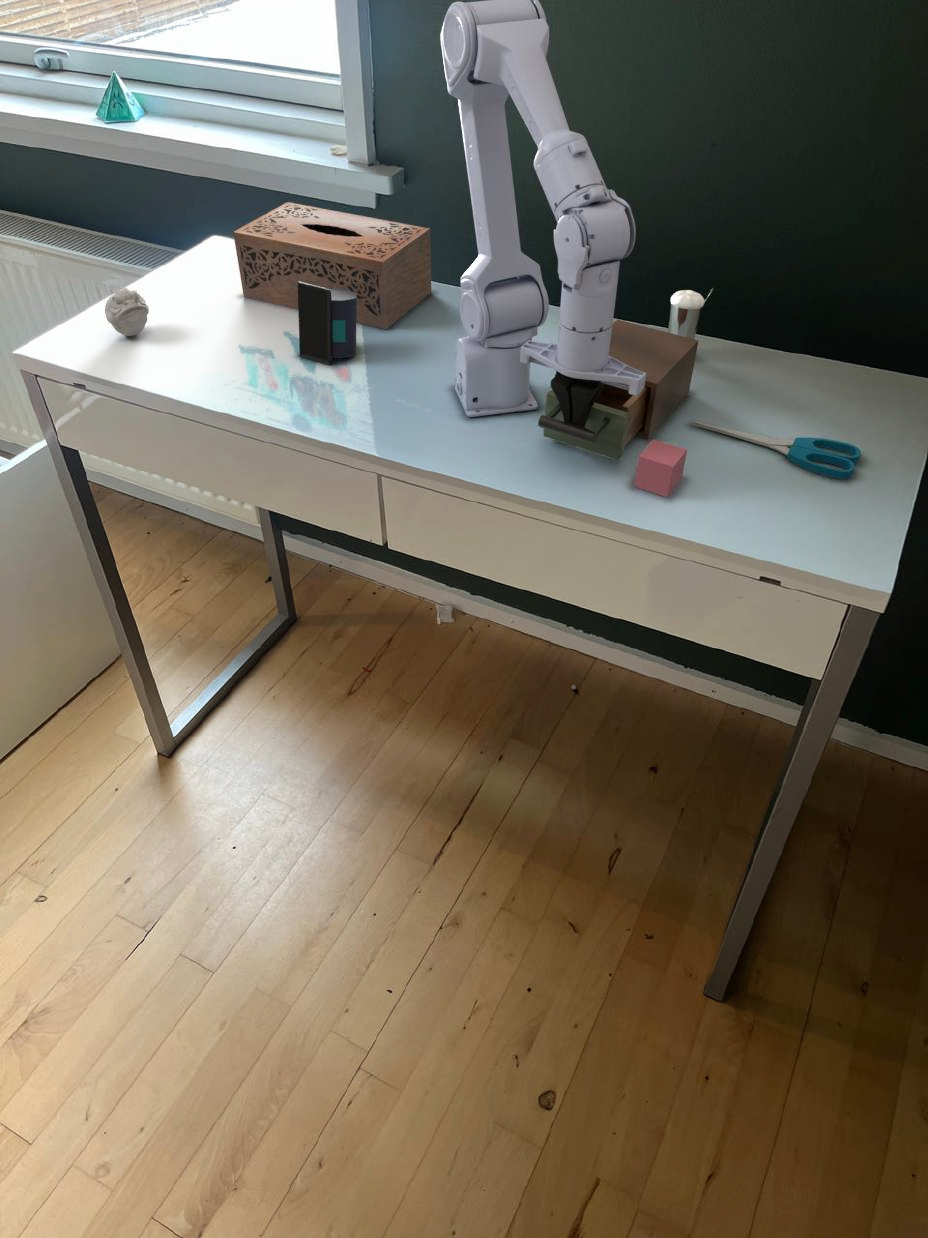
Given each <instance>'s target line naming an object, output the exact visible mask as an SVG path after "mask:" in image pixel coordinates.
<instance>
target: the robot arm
mask: <svg viewBox="0 0 928 1238" xmlns="http://www.w3.org/2000/svg"><path fill="white" fill-rule="evenodd" d="M542 6H543V5H542V4H541V3H540V1H539V0H480V1H479V0H478V1H470V2H463V1H454V2H453V3H451V4H450V6H449V7H448V9H447V11H446V14H445V16H444V20H443V22H442V23H443V24H442V27H441V30H440V46H441V53H442V54H441V55H442V61H443V68H444V75H445V80H446V86H447V93H448V94H449V96H452V97H453V98H455V99H457V101H458V102H457V103H458V109H459V110H458V111H459V117H460V126H461V132H462V140H463V149H464V155H465V162H466V171H467V179H468V186H469V192H470V200H471V208H472V216H473V217H472V218H473V224H474V231H475V239H476V246H477V253H478V256H477V258H475V260H474V261H473V263H472V264H470V266H469V267H468V268H467V269H466V270H465V271H464V272H463V274H462V276H461V277H460V279H459V280H460V281H459V282H460V285H459V286H460V303H459V314H460V320H461V323H462V325H463V329H464V330H465V332H466V333H467V335H466V336H463V337H459V338H457V340H456V344H455V385H454V390H455V393H456V395H457V397H458V399H459V402H460V404H461V406H462V408H463V409H464V412H465V414H466V416H467V417H469V418H473V417H481V416H483V417H484V416H489V415H499V414H508V413H515V412H524V411H532V410H537V409H538V408H539V404H538V402H537V400H536V399H535V396H534V395H533V393H532V392H531V390H530V380H531V379H530V378H531V363H532V364H535V365H539V366H542V367H547V368H550V369H552V370H554V371H555V374H554V377H553V378H552V379H551V380H550V390H553V392H554V393H555V395H556V397H557V399H558V402H559V404H560V407H561V410H562V414H563V418H564V422H568V423H571V424H574V425H577V426H580V427H584V428H585V425H586V422H587V419H588V416H589V414H590V411H591V409H592V407H593V405H594V403H595V401H596V399H597V398H598V396H599V394H600V393H601V391H602V389H603V388H604V386H605V385H606V384H608V385H611V386H615V387H618V388H622V389H625V390H629V392H628V393H629V394H631V395H635V396H637V395H638V394H639V393H640V392H641V391H642V390H643V389H644V385H645V379H646V373H645V372H642V371H639V370H636V369H634V368H632V367H630V366H628V365H626V364H624V363H622V362H620V361H619V360H617V359H615V358H613V357H611V356H609V350H610V342H611V333H612V325H613V323H614V317H615V316H614V315H615V307H616V299H617V289H618V282H619V276H620V275H619V274H620V266H621V261H620V260H623V259H626V258H627V257H629V256H630V254H631V253H632V251H633V249H634V248H635V247H634V246H635V244H636V237H637V236H636V235H637V234H636V232H637V231H636V230H637V229H636V223H635V218H634V215H633V212H632V207H631V206H630V205H629V203H628V202H627V201H626V200H625V199H623V198H621V197H619V196H618V195H617V193H616V192H615V190H613V189H609V188H607V185H606V183H605V181H604V179H603V176H602V174H601V171H600V169H599V167H598V164H597V162H596V159H595V157H594V155H593V152H592V151H591V148H590V146H589V143H588V141H587V138H586V137H585V135H583V134H581V133H579V132H575V131H572V130H570V128H569V123H568V122H567V118H566V115H565V113H564V110H563V106H562V103H561V99H560V97H559V94H558V91H557V88H556V84H555V81H554V79H553V76H552V73H551V70H550V66H549V63H548V61H547V56H548V51H549V45H550V44H549V43H550V27H549V24H548V23H547V22H548V21H547V17H546V14H545V10H544V9H543V7H542ZM509 96H510V97H511V99H512V101H513V104H514V105H515V107H516V109H517V111H518V113H519V114H520V117H521V119H522V120H523V122H524V124H525V127H526V128H527V130H528V132H529V133H530V135H531V137H532V140H533V142H534V143H535V145H536V147H537V152H536V154H535V157H534V159H533V168H534V171H535V173H536V175H537V178H538V180H539V182H540V185H541V187H542V190H543V193H544V194H545V197H546V200H547V202H548V204H549V206H550V209H551V211H552V213H553V216H554V218H555V221H556V228H555V229H553V243H554V249H555V253H556V256H557V274H558V279H559V280H560V281H561V293H560V305H559V319H558V320H559V321H558V331H557V343H547V342H540V341H539V342H538V341H534V340H533V338H534V337H536V336H538V330H539V329H538V328H539V327H541V326H543V325H544V324H545V322H546V321H547V317H548V314H549V309H550V302H549V301H550V300H549V296H548V295H549V294H548V292H547V289H546V287H545V284H544V281H543V277H542V271H541V265H540V264H539V263H538V262H536V261H535V260H533V259H532V258H530V257H529V256H528V255H526V254H524V253H523V251H522V249H521V248H522V247H521V240H520V231H519V223H518V213H517V206H516V196H515V186H514V177H513V171H512V170H513V169H512V161H511V151H510V143H509V132H508V125H507V117H506V115H507V114H506V107H505V104H506V101H507V100H508V97H509ZM511 278H513V279H511ZM509 279H510V280H509ZM502 280H505V281H502ZM499 281H500V282H499ZM494 282H496V283H494Z"/></svg>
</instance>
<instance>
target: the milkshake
mask: <svg viewBox="0 0 928 1238" xmlns="http://www.w3.org/2000/svg"><path fill="white" fill-rule="evenodd" d="M713 290H714V288H712V289H710V292H709V293H708V294H707V296H706V298H705V299H704V297H703V296H702V294H701V293H699V292H696V291H694V290H691V289H684V290H682V289H681V290H678V291H675V293H673V294H672V295H671V297H670V302H669V316H668V317H669V320H668V329H667V330H668V331H667V332H668V333H672V334H676V335H679V336H683V337H687V338H691V339H695V338H696V334H697V331H698V327H699V323H700V319H701V316H702V313H703V309H704V305H705V302H706V301H707V300H708V298H709V296H710V295H711V293H712V292H713Z"/></svg>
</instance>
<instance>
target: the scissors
mask: <svg viewBox="0 0 928 1238" xmlns="http://www.w3.org/2000/svg"><path fill="white" fill-rule="evenodd" d="M693 426H696V427H699V428H703V429H705V430H709V431H713V432H716V433H720V434H724V435H726V436H731V437H734V438H737V439H740V440H744V441H746V442H751V443H753V444H757V445H761V446H763V447H767V448H770V449H772V450H776V451H777V452H779V453H782V454H783V455H785V456H786V459H787V460H789V461H790V462H792V463H794V464H795V465H797V466H799V467H801V468H804V469H805V470H808V471H809V472H813V473H816V474H818V475H822V476H825V477H829V478H834V479H839V480H847V479H849V478H852V477H853V474H854V471H855V469H856V465H855V464H858V462H859V461H860V457H861V454H862V452H861V450H860V448H859V447H858V446H856V445H854V444H851V443H847V442H843V441H839V440H834V439H829V438H822V437H821V438H820V437H795V439H784V438H783V439H782V438H781V439H779V438H773V437H769V436H764V435H759V434H754V433H750V432H746V431H740V430H735V429H730V428H726V427H721V426H718V425H712V424H707V423H704V422H699V421H694V422H693ZM789 447H790V448H789ZM820 447H821V448H820ZM822 448H827V449H832V450H836V451H840V452H844V453H847V454H850V455H846V454H845V455H844V454H841V453H837V452H834V451H833V452H832V451H829V450H825V449H822ZM814 461H817V462H822V463H826V464H831V465H835V466H838V467H842V468H844V469H839V468H834V467H830V466H826V465H822V464H819V463H816V462H814Z"/></svg>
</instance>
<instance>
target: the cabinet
mask: <svg viewBox="0 0 928 1238" xmlns="http://www.w3.org/2000/svg"><path fill="white" fill-rule="evenodd" d="M698 346H699V339H695V338H694V339H691V338H687V337H683V336H679V335H676V334H672V333H668V331H663V330H660V329H657V328H656V329H655V328H653V327H648V326H644V325H641V324H636V323H632V322H628V321H625V320H621V319H616V320H615V321H613V325H612V333H611V342H610V350H609V356H611V357H613V358H615V359H617V360H619V361H620V362H622V363H624V364H626V365H628V366H630V367H632V368H634V369H636V370H639V371H642V372H645V373H646V379H645V385H644V386H647V387H651V392H650V398H649V404H648V411H647V417H646V423H645V424H644V425H643V427H642V428H641V429H640V430H639V431H638V432H637V433H636V434H635V435H634V436H637V437H640V438H643V439H647V440H649V439H651V437H652V435H654V433H655V432H657V430H658V429H659V428H660V427H661V425H662V424H664V422H665V421H666V420H667V419H668V418H669V417H670V416H671V415H672V413H673V412H674V411H675V410H676V408H678V406H679V405H680V404H681V403H682V402H683V401H684V400H685V398H686V397H688V395H689V394H690V388H691V383H692V377H693V372H694V368H695V363H696V356H697V351H698Z"/></svg>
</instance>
